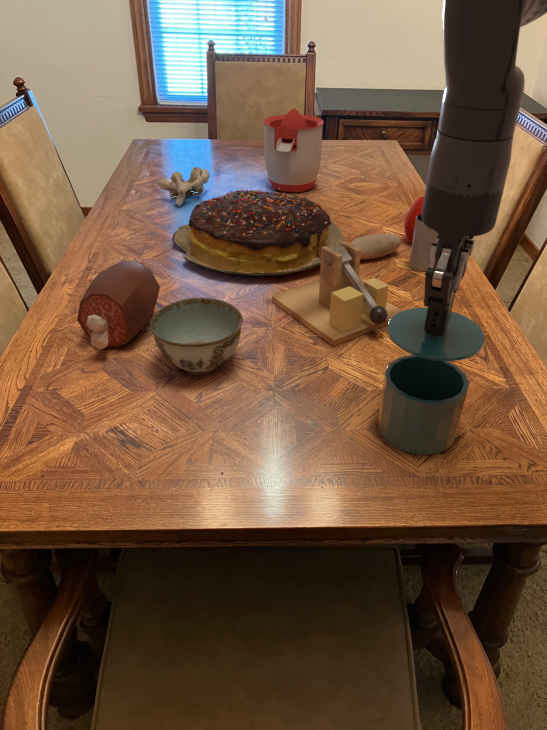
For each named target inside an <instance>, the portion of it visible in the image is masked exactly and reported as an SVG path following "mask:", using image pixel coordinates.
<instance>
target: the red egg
mask: <svg viewBox="0 0 547 730" xmlns="http://www.w3.org/2000/svg"><path fill="white" fill-rule="evenodd" d="M424 196H425V195H424ZM424 196H419V197H417V199H416V200H414V202H413V203H412V204H411V206H410V207H409V209H408V210H407V213H406V215H405V217H404V223H403V227H404V235H405V238H406V239H407V241H408V242H409V243H411V244H412V240H413V234H414V227H415V221H416V216H418V215H420V214H422V209H423V202H424ZM437 235H438V233H437Z"/></svg>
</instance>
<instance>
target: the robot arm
mask: <svg viewBox="0 0 547 730" xmlns="http://www.w3.org/2000/svg"><path fill="white" fill-rule="evenodd" d="M546 14H547V0H443V7H442V37H443V38H442V40H443V41H442V42H443V43H442V44H443V63H444V72H445V73H444V74H445V86H444V90H443V95H442V100H441V107H440V113H439V120H438V126H437V131H436V136H435V139H434V143H433V146H432V150H431V154H430V157H429V164H428V172H427V178H426V185H425V190H424V202H423V209H422V215H421V219H422V221H423V223H424V224H425V225H426V226H427V227H428V228H430V229H433V230H434V231H436V232H437V233H438V235H437V238H436V243H435V242H433V243H432V245H431V249H430V254H429V259H430V266H429V267H428V269H427V271H424V294H423V295H424V296H423V307H428V310H427V316H426V321H425V327H424V330H425V332H427V333H431V334H435V335H442V334H443V332H444V330H445V325H446V321H447V316H448V311H449V307H450V306H451V305H452V306H451V311H453V306H454V301H455V297H456V294H457V293H458V291H459V290H460V285H461V282H462V280H463V279H464V277H465V274H466V272H467V270H468V269H467V268H468V264H469V258H470V256H471V255H472V252H473V251H474V247H475V241H476V240H475V239H474V238H475V237H479V236H483V235H486V234H489V233H490V232H492V230H494V228H495V227H496V225H497V224H496V223H497V221H498V219H497V218H498V215H499V210H500V208H501V207H500V206H501V203H502V199H503V194H504V190H505V186H506V182H507V178H508V173H509V169H510V165H511V160H512V150H513V143H514V142H513V141H514V135H515V132H516V127H517V122H518V118H519V114H520V111H521V105H522V101H523V98H524V91H525V83H526V81H525V80H526V79H525V74H524V72H523V70H522V69H521V68H520V67H519V66H517V55H518V49H519V48H518V46H519V38H520V31H521V28H522V27H524V26H528V25H529V24H531V23H533V22H535V21H537V20H538V19H539V18H541V17H542V16H543V17H544V16H545V15H546ZM453 291H455V292H454V297H453V302H452V301H451V300H452V296H453ZM451 311H450V316H451ZM450 316H449V319H450Z"/></svg>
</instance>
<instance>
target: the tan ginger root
mask: <svg viewBox="0 0 547 730" xmlns="http://www.w3.org/2000/svg"><path fill="white" fill-rule="evenodd" d="M210 177H211V175H210V172H209V171H208V169H207V168H200V167H199V166H195V167H193V168H192V169H191V170H190V175H189V178H188V179H187V180H184V178H183V175H182V173H181V172H180V171H173V172H172V174H171V176H170V178H168V177H164V178H159V179H157V185H158V186H159V188H160V189H161V190H164V191H167V192H168V193H169V200H170V202H173V201H175V205H177V206H178V208H181V207H182V205H183V203H184V202H185V201H186V199H187V198H188V197H195V196H196V197H197V196H201V195H202V194H203V193H204V192H203V191H204V190H205V187H204V184H205V185H206V184H207V183H208V182H209V179H210ZM191 191H194V192H198V193H194V192H191ZM193 193H194V194H193ZM174 196H177V197H174ZM170 197H171V198H170ZM172 197H174V198H172ZM176 202H177V203H176ZM178 203H179V204H178ZM181 203H182V204H181Z"/></svg>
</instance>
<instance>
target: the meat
mask: <svg viewBox="0 0 547 730" xmlns="http://www.w3.org/2000/svg"><path fill="white" fill-rule="evenodd" d="M160 289H161V286H160V284H159V282H158V280H157V279H156V276H155V275H154V272H153V271H152V269H151V268H149V267H148V266H146V265H145V263H144V262H143V261H142V260H141V259H139V258H135V259H132V260H120V261H118V262H116V263H114V264H113V265H111V266H109V267H107V268H105V269H103V270H101V271H100V272H99V273H98V274H97V275H96V276H95V277H94V278H93V280H92V281H91V282H90V284H89V285H88V286H87V289H86V290H85V292H84V294H83V296H82V298H81V299H80V302H79V306H78V313H77V318H76V320H77V323H78V324H79V325H80V327H81V329H82V331H83V332H84V334H85V336H86V337H87V338H88V339H90V344H91V346H93V347H94V348H95V349H97V350H99V351H100V350H104V349H105V348H107V347H108V348H109V347H110V348H119V347H120V346H122V345H124V344H126V343H128V342H129V341H131V340H132V339H133V338H134V337H136V335H137V334H139V332H140V331H141V330H142V329H144V327H145V326H146V325H147V323H148V322H150V320H151V319H152V317H153V315H154V312H155V311H154V310H155V308H156V304H157V301H158V299H159V294H160Z"/></svg>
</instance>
